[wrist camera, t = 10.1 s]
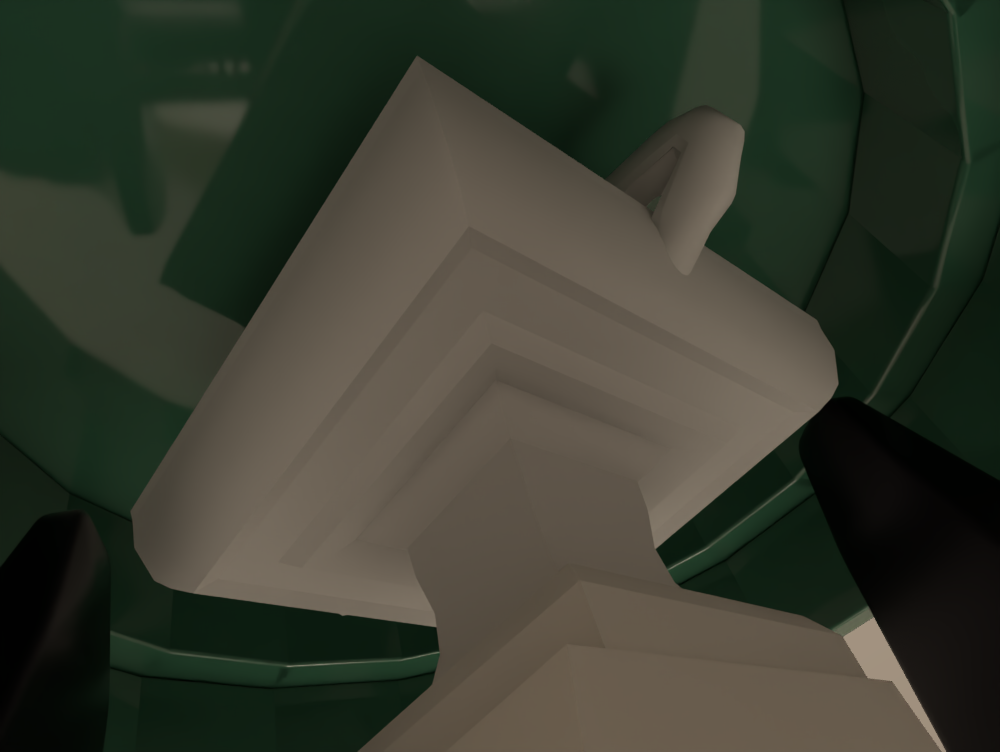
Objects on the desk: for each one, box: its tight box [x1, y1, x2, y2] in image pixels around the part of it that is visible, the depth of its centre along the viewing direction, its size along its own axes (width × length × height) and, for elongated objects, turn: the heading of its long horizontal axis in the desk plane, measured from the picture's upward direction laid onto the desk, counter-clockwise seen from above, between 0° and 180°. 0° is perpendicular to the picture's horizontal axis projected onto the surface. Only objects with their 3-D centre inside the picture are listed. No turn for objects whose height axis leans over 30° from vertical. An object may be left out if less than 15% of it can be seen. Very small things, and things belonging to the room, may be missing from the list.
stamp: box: [130, 56, 941, 752], centre depth 8 cm, size 9×7×8 cm
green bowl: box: [0, 0, 1000, 752], centre depth 10 cm, size 16×16×5 cm
